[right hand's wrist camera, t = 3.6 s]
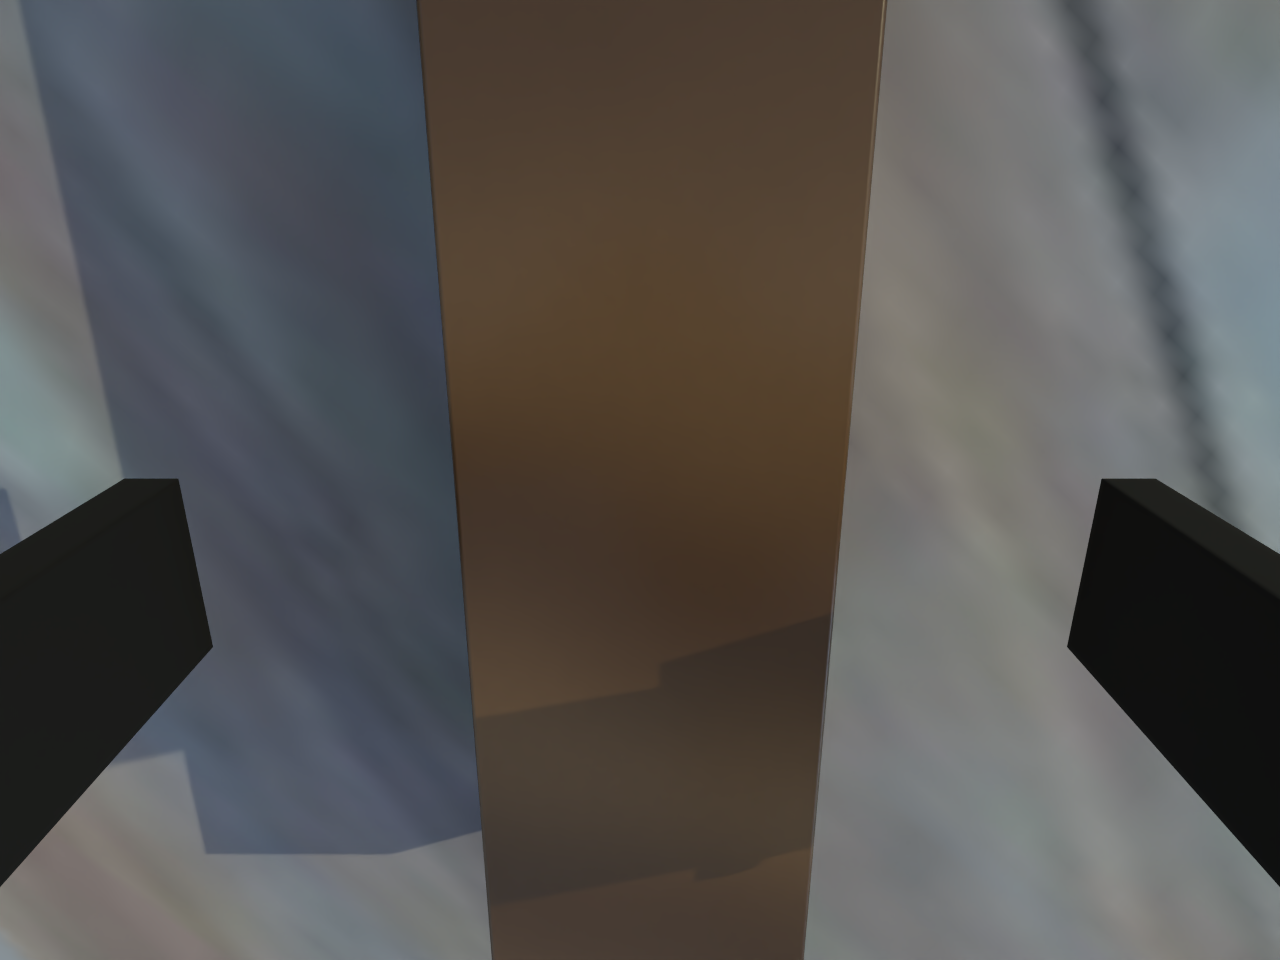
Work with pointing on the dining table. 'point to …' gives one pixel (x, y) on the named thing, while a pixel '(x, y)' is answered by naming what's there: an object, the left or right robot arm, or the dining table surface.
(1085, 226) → the dining table surface
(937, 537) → the dining table surface
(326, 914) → the dining table surface
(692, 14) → the post
